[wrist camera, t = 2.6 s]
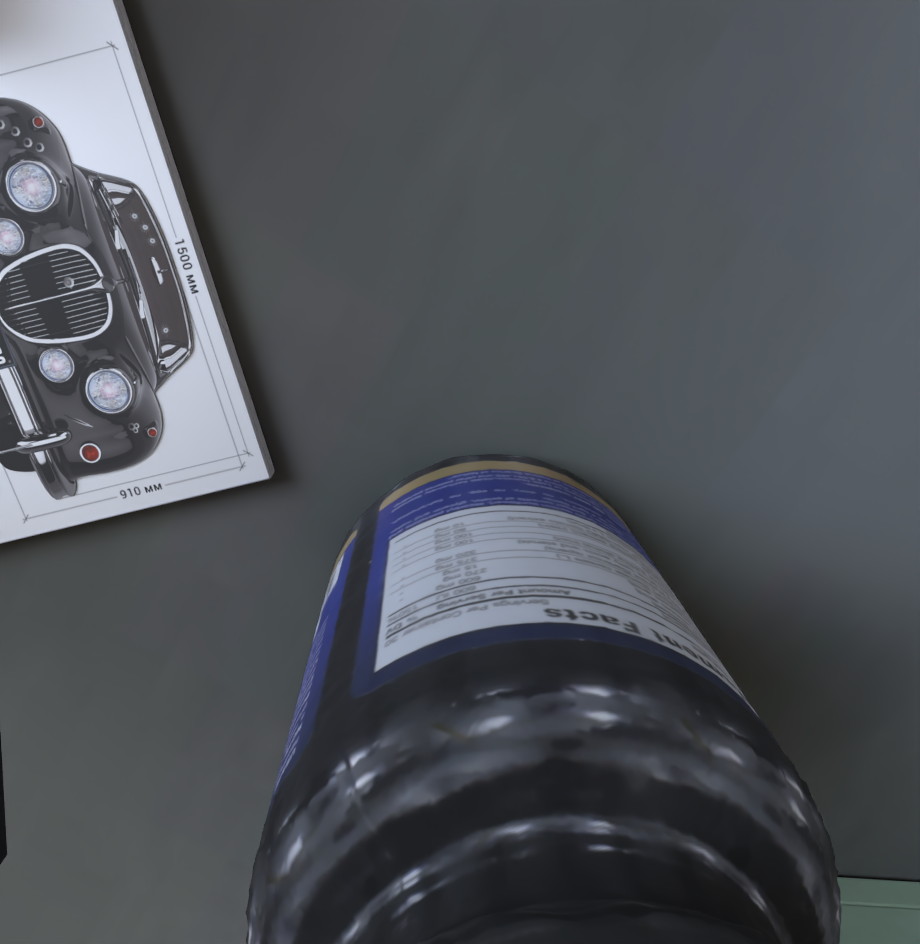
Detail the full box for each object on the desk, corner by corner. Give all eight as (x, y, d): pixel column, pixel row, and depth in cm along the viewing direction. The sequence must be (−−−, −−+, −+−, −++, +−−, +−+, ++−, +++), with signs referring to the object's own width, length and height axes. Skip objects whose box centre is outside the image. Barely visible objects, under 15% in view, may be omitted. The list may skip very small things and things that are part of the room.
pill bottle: (501, 779, 17) (625, 1679, 7) (266, 617, 16) (-60, 1424, 5) (706, 571, 16) (1267, 1271, 5) (468, 375, 14) (587, 792, 4)
